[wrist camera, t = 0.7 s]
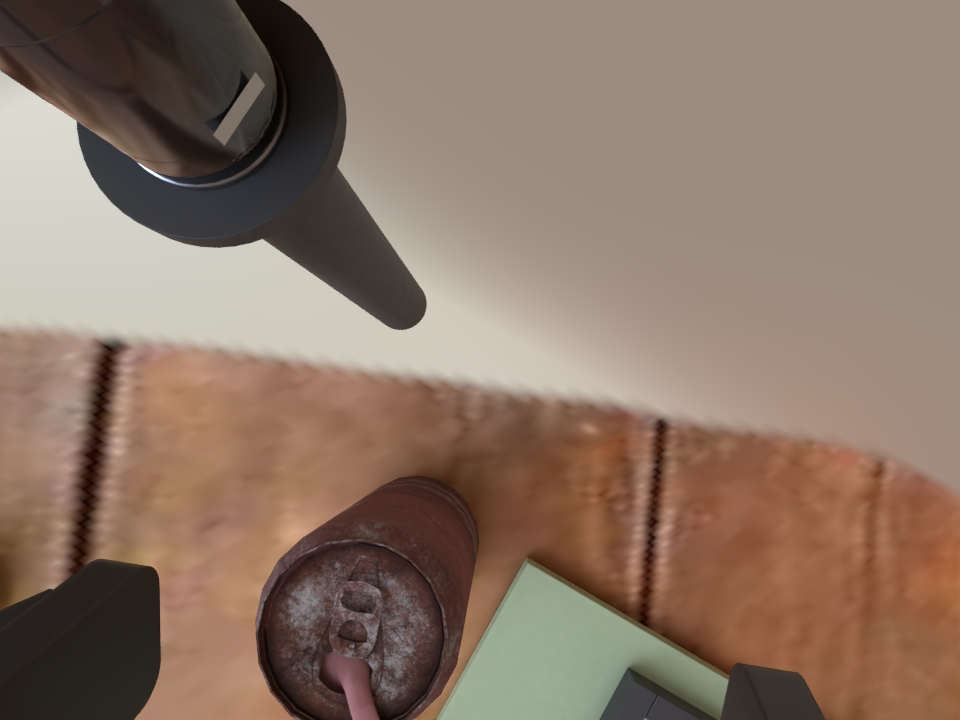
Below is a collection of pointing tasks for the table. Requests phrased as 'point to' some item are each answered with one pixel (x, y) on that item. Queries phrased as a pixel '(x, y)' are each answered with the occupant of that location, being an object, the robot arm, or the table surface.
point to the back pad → (578, 662)
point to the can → (371, 606)
